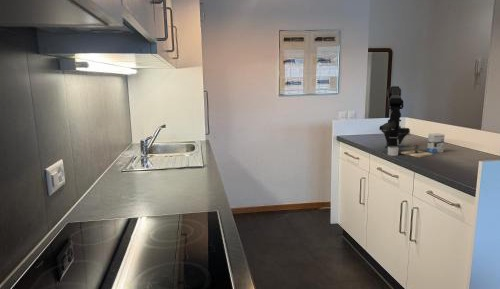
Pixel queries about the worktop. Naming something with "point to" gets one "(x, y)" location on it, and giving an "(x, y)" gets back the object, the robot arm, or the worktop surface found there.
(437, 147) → the ink box
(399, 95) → the robot arm
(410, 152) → the shaft block
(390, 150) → the tube
